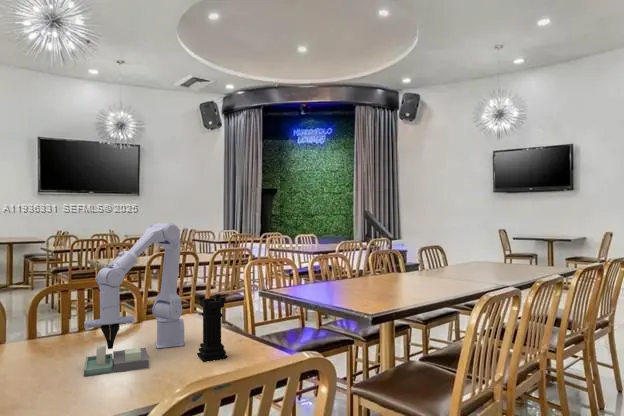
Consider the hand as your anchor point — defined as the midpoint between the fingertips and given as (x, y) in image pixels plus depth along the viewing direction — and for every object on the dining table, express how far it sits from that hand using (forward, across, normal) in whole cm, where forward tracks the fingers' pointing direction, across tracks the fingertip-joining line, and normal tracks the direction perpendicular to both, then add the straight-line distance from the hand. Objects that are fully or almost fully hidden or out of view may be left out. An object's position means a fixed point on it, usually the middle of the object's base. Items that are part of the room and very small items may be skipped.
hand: (110, 348), depth 145 cm
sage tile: (+2, -6, +7) cm, 9 cm away
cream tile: (+2, +1, -1) cm, 2 cm away
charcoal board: (+5, -6, +3) cm, 8 cm away
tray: (+5, +3, +2) cm, 6 cm away
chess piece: (+5, -30, +9) cm, 32 cm away
